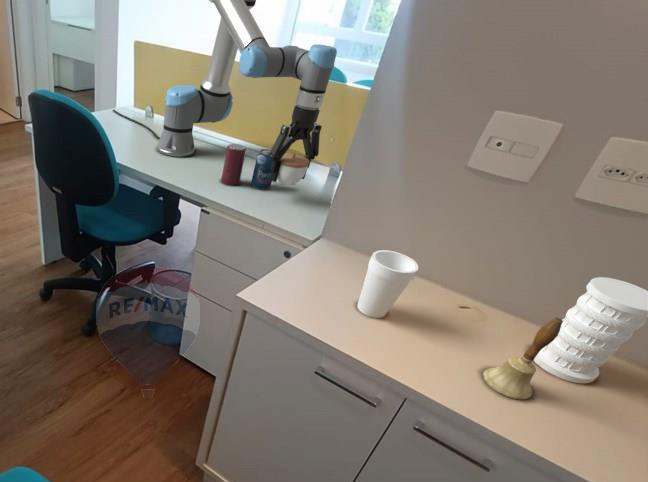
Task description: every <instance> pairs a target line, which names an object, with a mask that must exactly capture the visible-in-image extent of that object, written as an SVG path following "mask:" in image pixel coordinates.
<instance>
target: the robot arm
mask: <svg viewBox="0 0 648 482" xmlns="http://www.w3.org/2000/svg"><path fill="white" fill-rule="evenodd" d="M208 1H209V2H210V3H211V4H214V6H215V8H216V10H217V12H218V14H219V16H220V20H219V25H218V29H217V33H216V36H215V41H214V45H213V49H212V54H211V56H210V61H209V66H208V69H207V73H206V78H204V79H203V80H201V82H200V86H199V89H198V87H197V86H195V85H192V84H179V85H174V86H171V87H170V88H168V90H167V92H166V96H165V100H164V104H165V105H164V115H163V117H164V118H163V127H162V128H163V129H162V131H161V134H160V136H158V135H157V134H156V132H155V131H154V130H153V129H151V128H150V127H149V126H147V125H146V124H143V123H142V122H139V121H137V120H136V119H133V118H130V117H128V116H126V115H124V114H122V113H120V112H119V111H118V110H116V109H114V108H113V109H112V112H114V113H115V114H117V115H118V116H120V117H123V118H124V119H127V120H128V121H132V122H134V123H136V124H137V125H140V126H142V127H143V128H146V129H147V130H148V131H149V132H151V133H152V134H153V136H154V137H155V138H156V139H158V142H157V145H156V150H157V152H159V153H160V154H161V155H165V156H168V157H175V158H186V157H190V156H193V155H194V154H195V148H196V147H195V141H194V135H193V134H194V133H193V130H194V124H203V123H204V124H206V123H207V124H208V123H211V124H214V123H218V122H222V121H224V120H226V119H227V118H228V117H229V116H230V114H231V111H232V108H233V94H232V92H231V87H230V85H229V81H230V78H231V74H232V72H233V67H234V65H235V64H234V63H235V61H236V57H237V53H238V51H239V53H240V56H239V62H238V65H239V71H240V73H241V75H242V76H244V77H246V78H253V79H260V78H261V79H262V78H292V79H295V80H296V79H297V80H299V81H300V85H299V88H298V92H297V96H296V98H295V99H296V100H295V102H294V103H295V106H294V107H293V111H292V114H291V122H290V125H285V124H282V125H281V127H280V131H279V133H278V136H277V137H276V139H275V141H274V143H273V145H272V146H271V147H272V148H271V149H270V150H271V151H270V153H269V155H268V157H270V158H271V159H273V161H272V165H271V170H272V171H271V175H270V180H272V182H274V183H277V177H278V173H279V169H280V166H281V161H280V159H281V158H282V157H283V155H284V154H285V153H287V151H288V150H289V149H290V147H292V145H293V144H294V143H296V142H297V141H300V140H302V144H303V149H304V154H305V157H306V158H307V159H308V160H309V161H310V162H309V165H308V167H307V170H306V173H305V174H304V176H303V178H302V179H301V180H305V178H306V175H307V171H308V169H309V167H310V165H311V162H312V160H315V158H316V157H318V156H319V151H320V149H319V148H320V135H321V131H322V127H323V126H322V125H321V124H318V123H317V121H318V119H319V118H318V117H319V115H320V112H321V110H320V108H321V107H322V105H323V102H324V98H325V94H326V91H327V87H328V84H329V81H330V78H331V75H332V73H333V69H334V67H335V62H336V58H337V54H338V50H337V48H336V47H335V46H333V45H332V46H331V45H327V44H312V45H311V46H310V48H309V50H308V49H305V48H301V47H299V46H298V45H297V46H296V45H288V44H287V45H284V46H282V47H279V46H270V45H269V43H268V41H267V40H266V37H265V35H264V34H263V32H262V30H261V28H260V27H259V25H258V23H257V22H256V21H257V20H256V19H255V17H254V16H253V14H252V12H251V11H250V10H251V9H253V8H254V7H255V5H256V2H257V0H208ZM277 156H278V157H277Z"/></svg>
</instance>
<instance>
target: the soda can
mask: <svg viewBox="0 0 648 482" xmlns="http://www.w3.org/2000/svg"><path fill="white" fill-rule="evenodd" d="M270 151H271V149H268V148H267V149H266V148H263V149H260V150H259V152H258V154H257V156H256V160H255V163H254V168H253V173H252V177H251V181H250V182H251V185H252V187H253V188H254V189H258V190H262V191H263V190H268V189H269V188H270V187H271V186H272V182H273V181H272V180H270V175H271V171H272V170H271V165H272V161H273V159H271V158H270V157H268V155H269V153H270Z"/></svg>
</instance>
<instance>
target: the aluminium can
mask: <svg viewBox="0 0 648 482" xmlns="http://www.w3.org/2000/svg"><path fill="white" fill-rule="evenodd" d="M246 153H247V147H246V146H244V145H242V144H238V143H230V144H228V145H227V147H226V150H225V156H224V162H223V168H222V172H221V173H222V174H221V179H220V182H221V183H222V184H223V185H225V186H231V187H236V186H239V185H240V182H241V177H242V173H243V167H244V163H245V158H246Z"/></svg>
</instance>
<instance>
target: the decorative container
mask: <svg viewBox="0 0 648 482" xmlns="http://www.w3.org/2000/svg"><path fill="white" fill-rule="evenodd" d="M585 288H586V292H585V293H584V294H581V295H580V296H579V297H578V298H577V301H576V304H575V305H574V306H572V307H571V308H569V309H568V310H567V311H566V314H565V317H564V318H563V319H561V320H563V322H562V325H561V328H560V331H559V334H558V335H557V337H556V338H555V339H554V340H553V341H552V342H551V343H550V344H549V345H547V346H545V347H544V348H543V349H541V350H540V352H539V353H538V354H537V356H536V357H535V359H534V360H533V362H535V364H536V365H538V366H539V367H540V368H542V370H544V371H546V372H548V374H551V375H553V376H555V377H557V378H559V379H562V380H564V381H567V382H571V383H575V384H590V383H592V382H594V381H595V380H596V379H597V378H598V377H599V375H600V369H599V368H600V367H602V366H603V365H605V363H607V361H608V359H609V356H612V355H614V354H615V353H617V352H618V351H619V350H620V347H621V345H622V344H623V343H625V342H627V341H628V340H630V339H631V338H632V336H633V334H634V332H635V331H637V330H639V329H640V328H642V327H644V325H645V324H646V322H647V319H648V290H647V289H645V288H643V287H640V286H638V285H635V284H633V283H630V282H627V281H624V280H620V279H617V278H612V277H605V276H597V277H594V278H592V279H590V281H589V282H588V283H587V285H586V286H585Z"/></svg>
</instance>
